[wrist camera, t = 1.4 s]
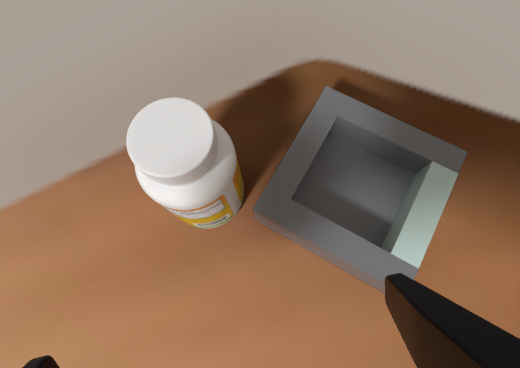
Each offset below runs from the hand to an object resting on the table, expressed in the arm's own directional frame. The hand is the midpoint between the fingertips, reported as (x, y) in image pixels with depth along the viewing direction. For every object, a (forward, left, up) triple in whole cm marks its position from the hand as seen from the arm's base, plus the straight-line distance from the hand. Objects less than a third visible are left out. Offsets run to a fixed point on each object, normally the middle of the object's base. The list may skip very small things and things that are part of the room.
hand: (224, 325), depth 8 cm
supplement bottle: (+5, +6, -13) cm, 16 cm away
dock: (+10, -3, -13) cm, 17 cm away
